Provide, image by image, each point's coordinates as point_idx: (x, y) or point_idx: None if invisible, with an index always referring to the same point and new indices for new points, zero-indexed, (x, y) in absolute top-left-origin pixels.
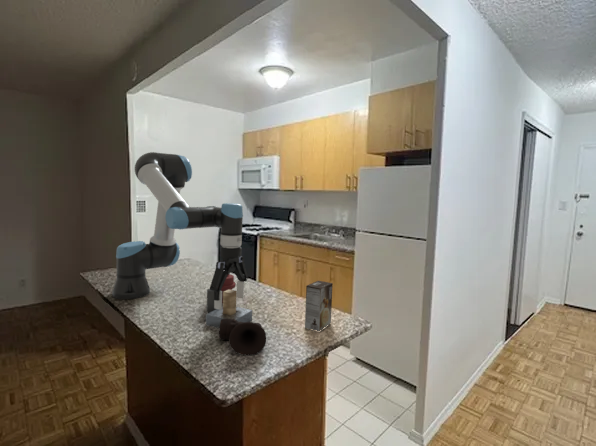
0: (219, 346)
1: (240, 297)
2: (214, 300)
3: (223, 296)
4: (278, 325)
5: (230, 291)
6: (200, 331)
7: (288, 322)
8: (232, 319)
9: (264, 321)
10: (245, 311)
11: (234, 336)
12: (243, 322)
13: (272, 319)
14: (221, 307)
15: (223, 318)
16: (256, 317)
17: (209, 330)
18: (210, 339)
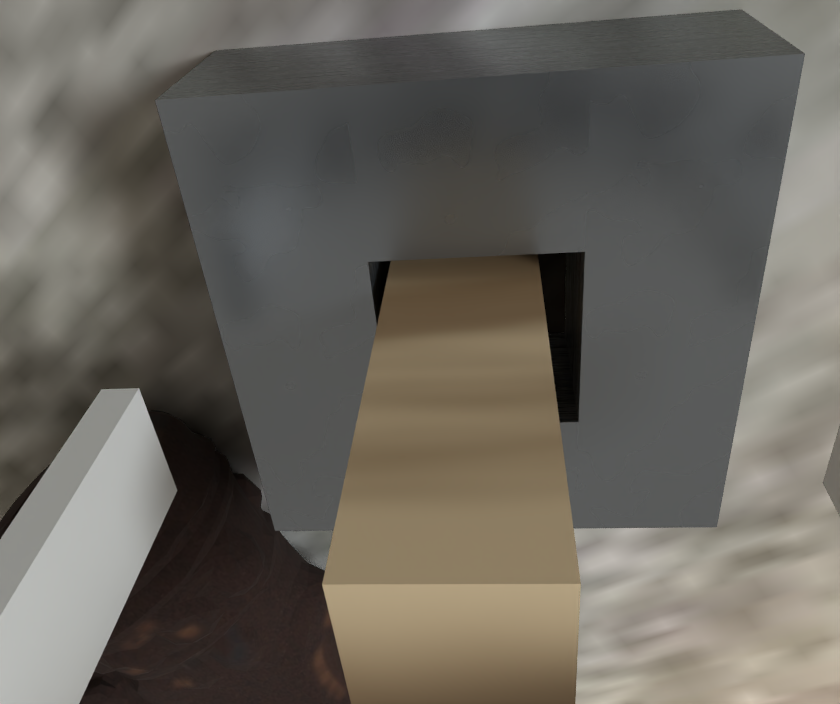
0: (15, 492)
1: (837, 462)
2: (29, 501)
3: (345, 496)
4: (673, 644)
5: (452, 674)
6: (42, 140)
7: (781, 675)
8: (143, 638)
9: (713, 530)
10: (622, 489)
11: None
12: (241, 671)
13: (803, 563)
14: (158, 512)
15: (242, 407)
16: (797, 423)
17: (145, 212)
18: (24, 362)
